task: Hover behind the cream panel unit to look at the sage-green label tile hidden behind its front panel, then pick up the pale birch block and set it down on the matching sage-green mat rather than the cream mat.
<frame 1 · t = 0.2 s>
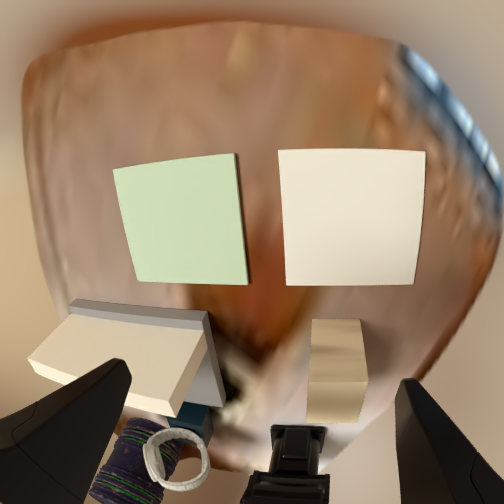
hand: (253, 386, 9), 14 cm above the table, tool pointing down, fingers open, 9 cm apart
cream mat: (354, 220, 20), on the table
watch: (195, 413, 34), on the table
sage mat: (179, 224, 23), on the table
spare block: (334, 341, 25), on the table
storage jar: (155, 434, 40), on the table
panel unit: (147, 351, 30), on the table
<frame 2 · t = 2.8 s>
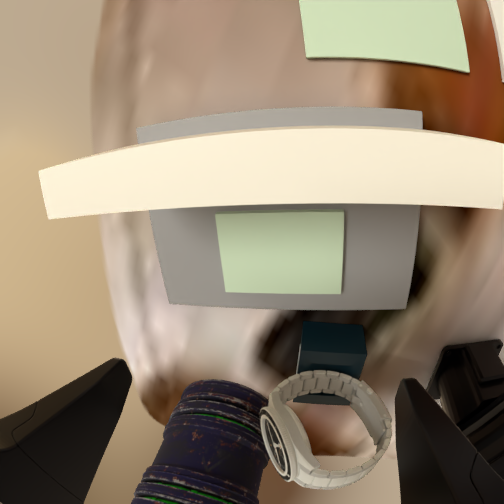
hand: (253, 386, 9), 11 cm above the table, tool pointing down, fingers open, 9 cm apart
watch: (326, 349, 22), on the table
storage jar: (228, 409, 27), on the table
panel unit: (282, 210, 18), on the table
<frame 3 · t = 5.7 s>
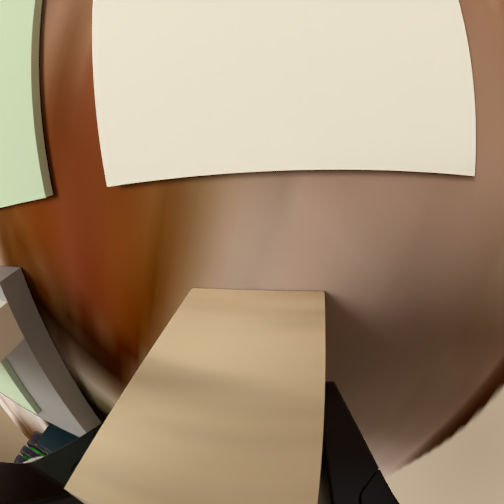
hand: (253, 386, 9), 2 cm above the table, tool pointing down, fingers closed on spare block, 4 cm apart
watch: (86, 441, 19), on the table
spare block: (261, 352, 10), on the table, touching gripper
storage jar: (66, 456, 24), on the table
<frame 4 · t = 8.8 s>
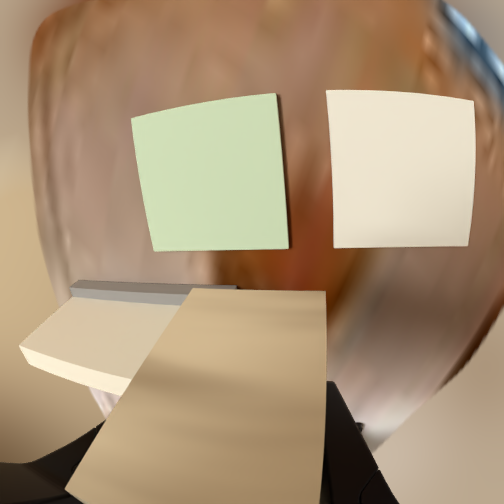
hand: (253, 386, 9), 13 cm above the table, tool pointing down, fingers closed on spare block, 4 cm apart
cream mat: (408, 170, 17), on the table
sage mat: (207, 177, 20), on the table
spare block: (262, 352, 10), point 11 cm above the table, touching gripper
panel unit: (161, 339, 26), on the table
when the fingers open (3 cm above the table, at t = 11.9 s): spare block drops 1 cm, resting on sage mat.
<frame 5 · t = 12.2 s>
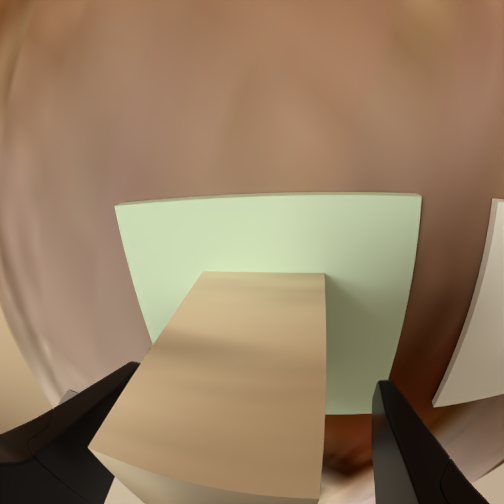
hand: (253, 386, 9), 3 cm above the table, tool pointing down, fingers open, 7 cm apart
sage mat: (267, 326, 11), on the table
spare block: (266, 332, 11), resting on sage mat
panel unit: (183, 460, 18), on the table
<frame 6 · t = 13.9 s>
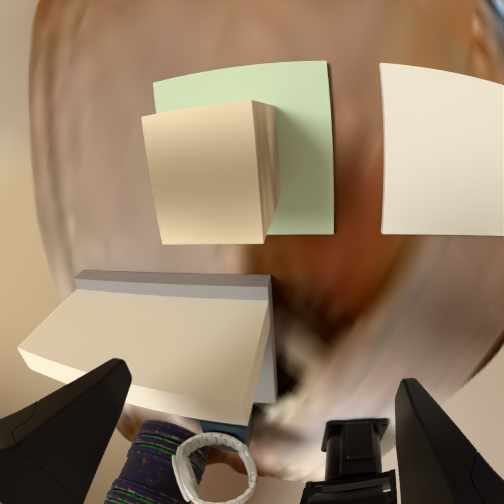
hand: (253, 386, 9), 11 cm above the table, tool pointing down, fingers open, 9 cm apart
cream mat: (458, 154, 14), on the table
watch: (231, 413, 28), on the table
sage mat: (243, 151, 17), on the table
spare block: (242, 152, 16), resting on sage mat
storage jar: (175, 438, 34), on the table
panel unit: (178, 335, 24), on the table
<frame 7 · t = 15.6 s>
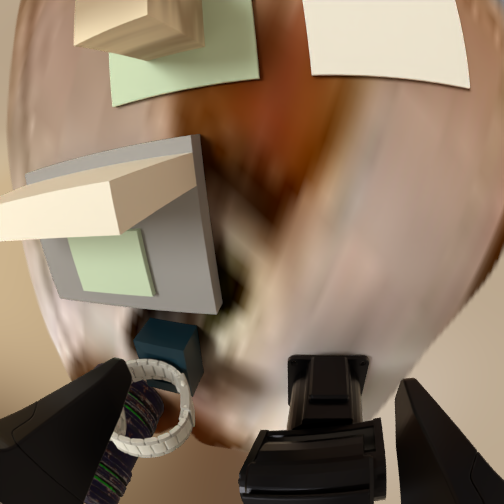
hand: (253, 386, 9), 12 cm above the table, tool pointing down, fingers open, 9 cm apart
cream mat: (385, 5, 12), on the table
watch: (177, 345, 26), on the table
sage mat: (174, 22, 15), on the table
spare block: (172, 20, 14), resting on sage mat
storage jar: (128, 391, 31), on the table
panel unit: (114, 229, 22), on the table
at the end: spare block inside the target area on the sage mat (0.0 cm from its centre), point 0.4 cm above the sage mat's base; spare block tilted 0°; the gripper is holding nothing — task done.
